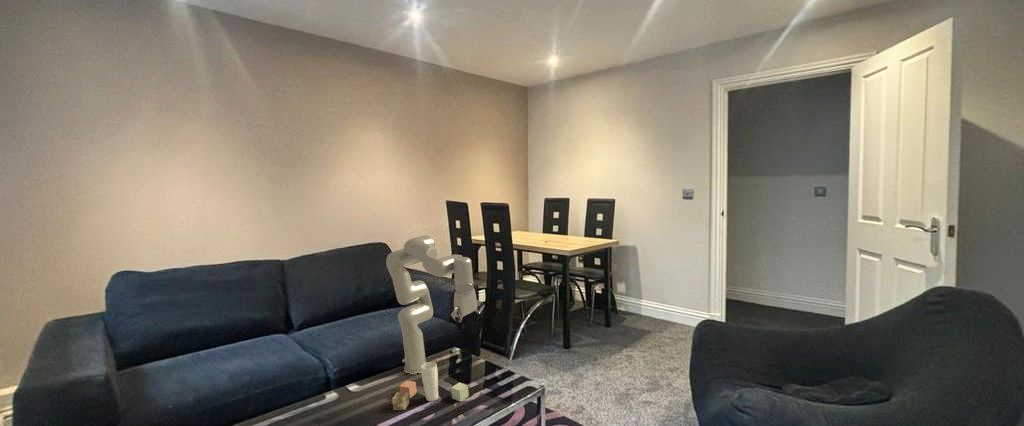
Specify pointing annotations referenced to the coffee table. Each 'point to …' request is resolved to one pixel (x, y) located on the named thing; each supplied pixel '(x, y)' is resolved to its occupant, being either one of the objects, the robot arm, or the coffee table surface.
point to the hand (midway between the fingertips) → (468, 326)
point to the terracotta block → (408, 388)
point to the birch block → (400, 401)
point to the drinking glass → (430, 380)
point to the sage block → (459, 391)
